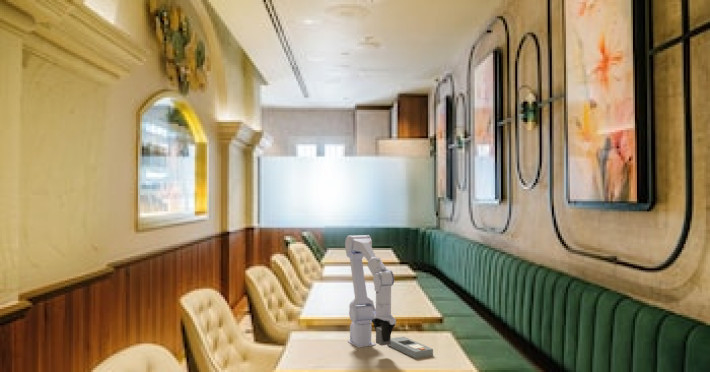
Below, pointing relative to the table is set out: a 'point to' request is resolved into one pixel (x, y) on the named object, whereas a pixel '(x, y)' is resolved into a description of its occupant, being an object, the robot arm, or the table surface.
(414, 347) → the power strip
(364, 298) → the robot arm
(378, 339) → the plug block
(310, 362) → the table surface
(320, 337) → the table surface
